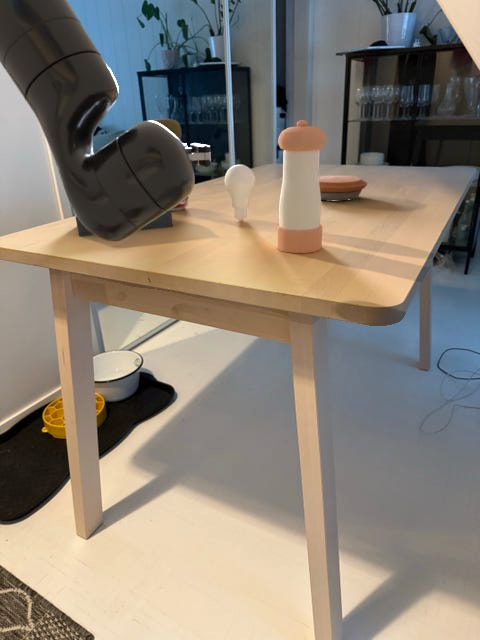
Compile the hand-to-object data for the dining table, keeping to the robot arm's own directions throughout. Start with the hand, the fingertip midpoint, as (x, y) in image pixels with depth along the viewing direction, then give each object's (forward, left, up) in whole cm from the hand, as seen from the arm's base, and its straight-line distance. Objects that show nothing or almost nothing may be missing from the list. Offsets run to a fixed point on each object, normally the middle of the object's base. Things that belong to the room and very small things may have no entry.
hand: (166, 151), depth 69 cm
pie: (+47, +30, -16) cm, 58 cm away
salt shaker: (+19, -7, -16) cm, 26 cm away
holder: (-6, +22, -15) cm, 28 cm away
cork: (-1, -3, -7) cm, 7 cm away
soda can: (+7, +35, -16) cm, 39 cm away
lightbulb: (+17, +16, -16) cm, 29 cm away
